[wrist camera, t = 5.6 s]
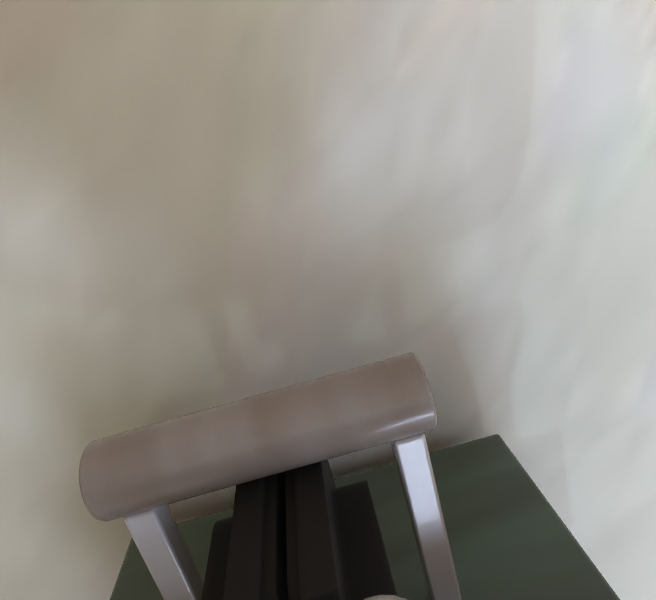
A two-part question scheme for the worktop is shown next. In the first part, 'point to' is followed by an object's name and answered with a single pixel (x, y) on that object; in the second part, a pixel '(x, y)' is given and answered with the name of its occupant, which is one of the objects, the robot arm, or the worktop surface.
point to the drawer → (384, 483)
